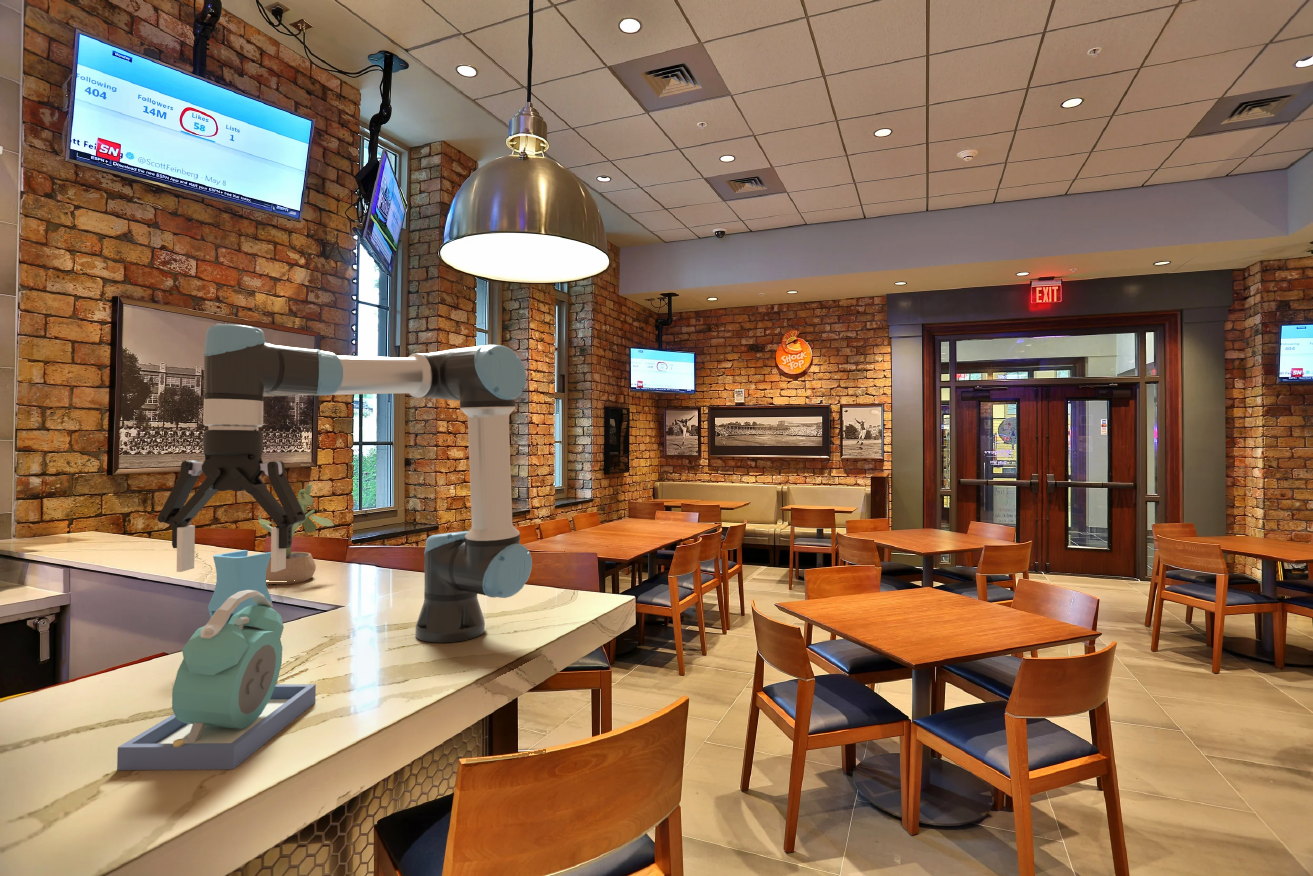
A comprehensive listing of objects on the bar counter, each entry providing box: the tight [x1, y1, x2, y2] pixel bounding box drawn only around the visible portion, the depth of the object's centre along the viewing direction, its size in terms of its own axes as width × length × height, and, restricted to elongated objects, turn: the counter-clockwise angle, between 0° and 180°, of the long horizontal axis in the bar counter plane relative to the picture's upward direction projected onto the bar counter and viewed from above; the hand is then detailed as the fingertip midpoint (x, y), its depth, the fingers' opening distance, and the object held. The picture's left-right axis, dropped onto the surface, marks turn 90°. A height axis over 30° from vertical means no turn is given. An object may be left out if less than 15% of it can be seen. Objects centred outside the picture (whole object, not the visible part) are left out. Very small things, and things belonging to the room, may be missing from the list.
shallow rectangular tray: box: [116, 683, 317, 771], centre depth 95 cm, size 15×22×4 cm
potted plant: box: [257, 484, 336, 585], centre depth 199 cm, size 22×18×30 cm
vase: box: [207, 549, 273, 623], centre depth 133 cm, size 8×8×20 cm
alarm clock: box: [171, 590, 285, 743], centre depth 96 cm, size 17×10×20 cm, turn 4°
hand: (232, 570), depth 96 cm, fingers open, 13 cm apart
